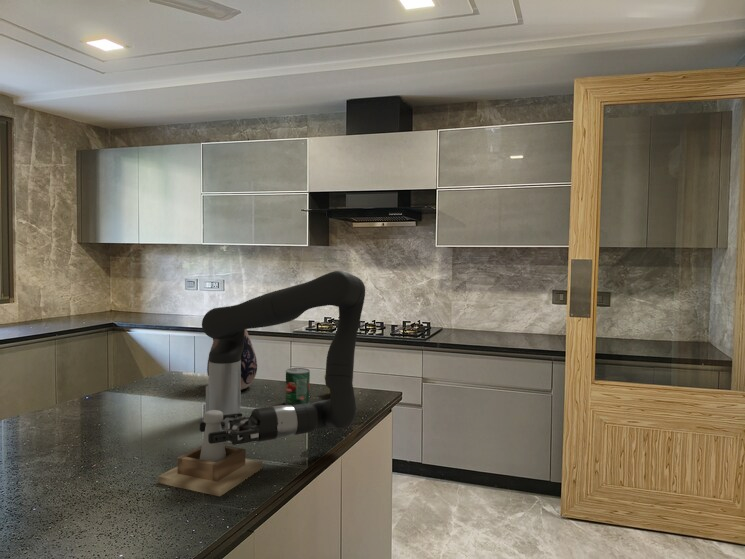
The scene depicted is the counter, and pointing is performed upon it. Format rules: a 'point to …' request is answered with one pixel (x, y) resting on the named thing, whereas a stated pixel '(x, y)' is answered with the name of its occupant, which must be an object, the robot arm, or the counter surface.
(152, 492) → the counter surface
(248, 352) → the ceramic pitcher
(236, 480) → the socket holder
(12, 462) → the counter surface
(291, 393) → the canned tomato
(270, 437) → the robot arm
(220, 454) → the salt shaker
